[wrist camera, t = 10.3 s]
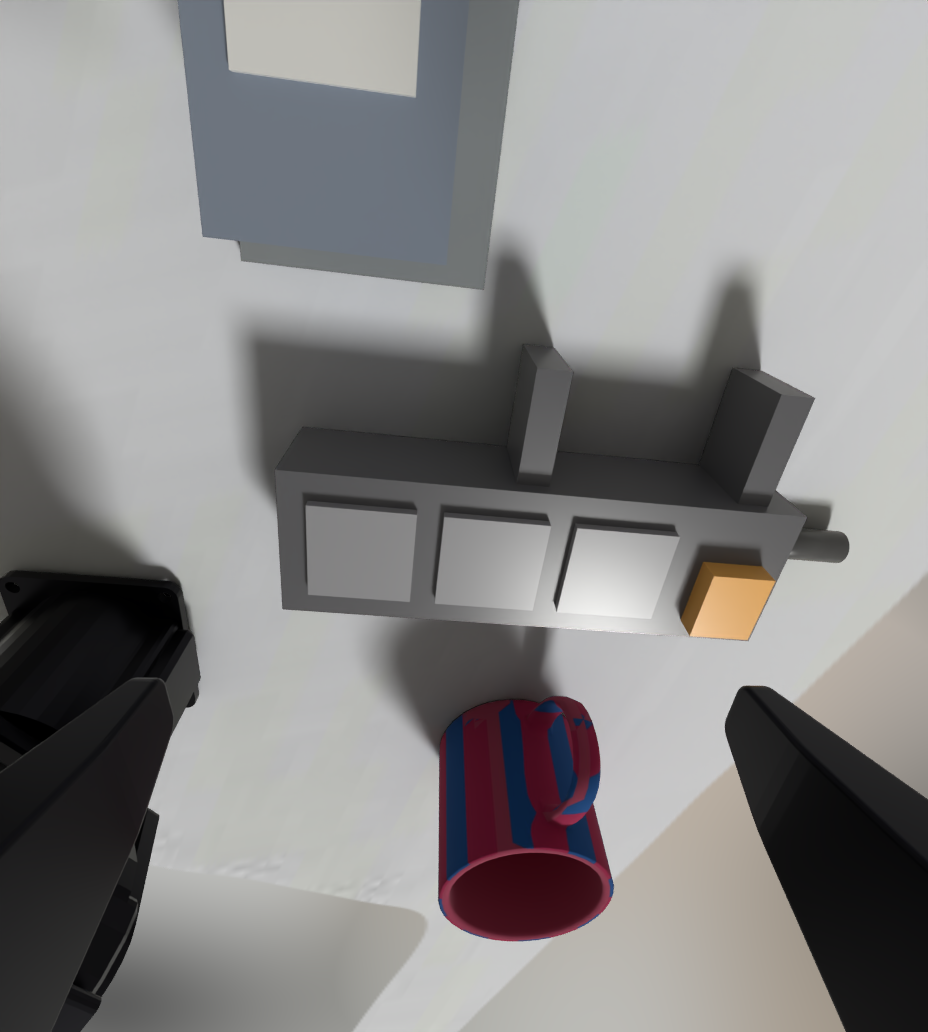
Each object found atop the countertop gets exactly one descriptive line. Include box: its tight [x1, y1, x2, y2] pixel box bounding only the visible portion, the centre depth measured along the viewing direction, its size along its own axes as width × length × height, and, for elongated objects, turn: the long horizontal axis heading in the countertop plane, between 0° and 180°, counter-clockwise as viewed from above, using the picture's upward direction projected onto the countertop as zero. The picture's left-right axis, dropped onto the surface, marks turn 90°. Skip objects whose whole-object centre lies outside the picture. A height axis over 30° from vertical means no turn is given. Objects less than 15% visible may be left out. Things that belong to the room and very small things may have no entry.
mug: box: [438, 696, 614, 941], centre depth 23 cm, size 7×10×7 cm
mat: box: [240, 0, 519, 290], centre depth 13 cm, size 7×12×1 cm, turn 173°
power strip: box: [275, 344, 849, 641], centre depth 18 cm, size 20×8×4 cm, turn 83°
